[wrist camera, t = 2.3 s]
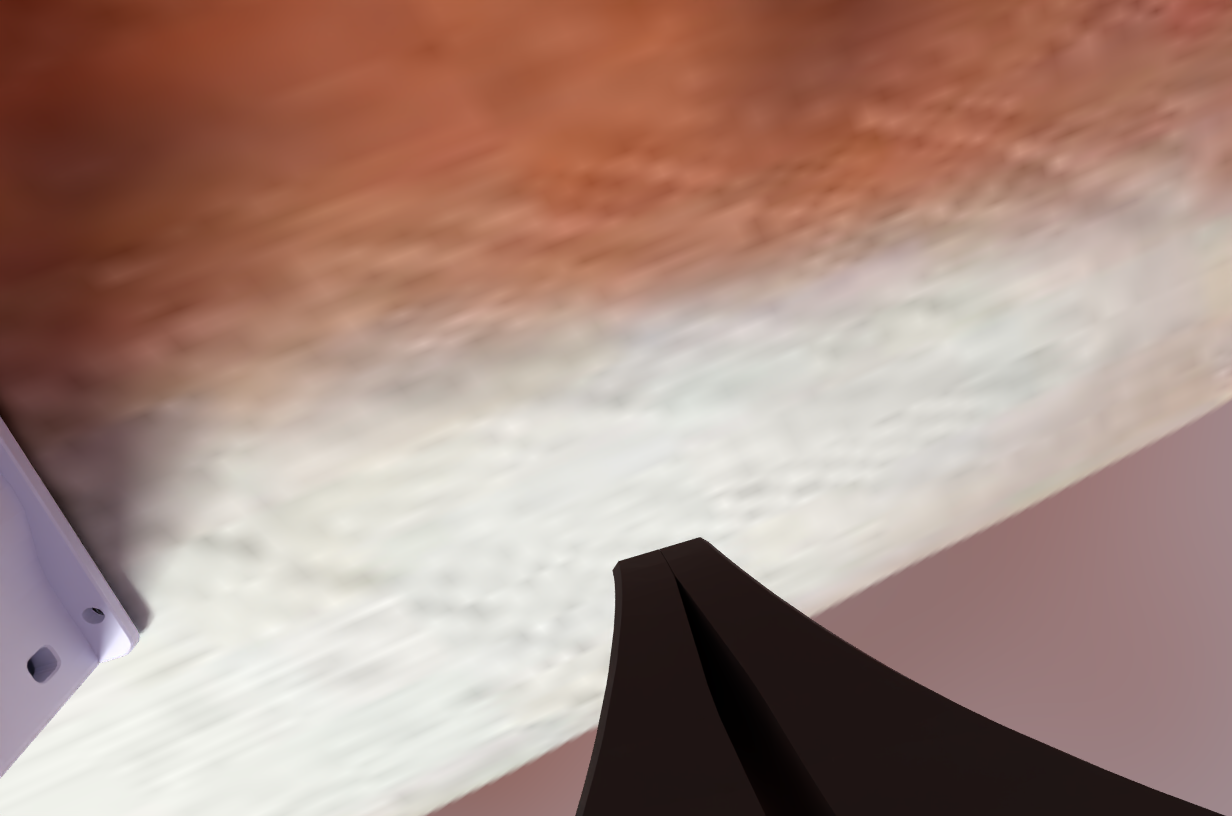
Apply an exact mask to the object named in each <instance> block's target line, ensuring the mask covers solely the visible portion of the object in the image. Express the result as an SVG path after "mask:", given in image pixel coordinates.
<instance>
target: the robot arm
mask: <svg viewBox="0 0 1232 816" xmlns="http://www.w3.org/2000/svg"><path fill="white" fill-rule="evenodd" d="M613 575H614V581H615V619H614V632H613V640H612V648H611V657H610V665H609V672H608V679H607V685H606V690H605V695H604V700H603V705H602V710H601V715H600V720H599V725H598V730H597V735H596V739H595V744H594V749H593V752H592V756H591V761H590V764H589V768H588V772H587V776H586V780H585V784H584V787H583V791H582V795H581V798H580V801H579V805H578V808H577V812H576V815H575V816H1224V815H1222V814H1219V813H1217V812H1214V811H1211V810H1208V809H1206V808H1203V807H1200V806H1198V805H1195V804H1192V803H1190V802H1187V801H1184V800H1182V799H1179V798H1176V797H1173V796H1171V795H1167V794H1165V793H1163V792H1160V791H1157V790H1154V789H1152V788H1149V787H1147V786H1145V785H1142V784H1140V783H1137V782H1135V781H1132V780H1129V779H1127V778H1124V777H1122V776H1119V775H1117V774H1114V773H1112V772H1110V771H1107V770H1104V769H1102V768H1100V767H1098V766H1095V765H1093V764H1090V763H1088V762H1086V761H1084V760H1081V759H1079V758H1077V757H1074V756H1072V755H1070V754H1067V753H1065V752H1063V751H1061V750H1058V749H1056V748H1053V747H1051V746H1049V745H1046V744H1044V743H1042V742H1040V741H1037V740H1035V739H1032V738H1030V737H1028V736H1026V735H1023V734H1021V733H1019V732H1016V731H1014V730H1012V729H1009V728H1007V727H1005V726H1002V725H1001V724H998V723H996V722H994V721H992V720H990V719H988V718H986V717H984V716H982V715H980V714H977V713H975V712H973V711H971V710H969V709H967V708H965V707H963V706H961V705H959V704H957V703H955V702H953V701H951V700H949V699H947V698H945V697H943V696H942V695H940V694H938V693H936V692H934V691H932V690H930V689H928V688H926V687H924V686H922V685H920V684H918V683H917V682H915V681H913V680H911V679H909V678H907V677H906V676H904V675H902V674H900V673H898V672H897V671H895V670H893V669H891V668H890V667H888V666H886V665H884V664H883V663H881V662H879V661H877V660H876V659H874V658H872V657H871V656H869V655H867V654H866V653H864V652H862V651H861V650H859V649H857V648H856V647H854V646H853V645H851V644H849V643H848V642H845V641H844V640H843V639H841V638H839V637H838V636H836V635H835V634H833V633H832V632H830V631H828V630H827V629H825V628H824V627H822V626H821V625H819V624H818V623H816V622H814V621H813V620H812V619H810V618H809V617H807V616H806V615H804V614H803V613H802V612H800V611H799V610H797V609H796V608H794V607H793V606H791V605H790V604H788V603H787V602H786V601H784V600H783V599H781V598H780V597H778V596H777V595H776V594H774V593H773V592H771V591H770V590H769V589H767V588H766V587H765V586H763V585H762V584H761V583H759V582H758V581H757V580H755V579H754V578H753V577H751V576H750V575H749V574H747V573H746V572H745V571H743V570H742V569H741V568H740V567H738V566H737V565H736V564H735V563H733V562H732V561H731V560H730V559H728V558H727V557H726V556H725V555H723V554H722V553H721V552H720V551H719V550H717V549H716V548H715V547H714V546H713V545H712V544H710V543H709V542H708V541H706V540H704V539H702V538H701V537H699V538H696V539H692V540H689V541H685V542H682V543H679V544H675V545H672V546H669V547H665V548H662V549H660V550H659V549H658V550H655V551H652V552H648V553H645V554H642V555H638V556H635V557H632V558H628V559H625V560H621V561H618V563H617V564H616V566H615V567H614V569H613ZM92 608H97V609H100V610H101V611H102V612H103V613H104V614H103V615H102V614H98V613H96V612H95V611H94V610H92ZM139 638H140V635H139V632H138V630H137V628H136V627H135V625H134V624H133V622H132V620H131V619H130V617H129V616H128V614H127V613H126V611H125V610H124V608H123V606H122V605H121V603H120V602H119V600H118V599H117V597H116V596H115V594H114V592H113V591H112V589H111V588H110V586H109V585H108V583H107V582H106V580H105V578H104V577H103V575H102V574H101V572H100V571H99V569H98V568H97V566H96V564H95V563H94V561H93V560H92V558H91V557H90V555H89V554H88V552H87V550H86V549H85V547H84V546H83V544H82V543H81V541H80V540H79V538H78V536H77V535H76V533H75V532H74V530H73V529H72V527H71V526H70V524H69V522H68V521H67V519H66V518H65V516H64V515H63V513H62V512H61V510H60V508H59V507H58V505H57V504H56V502H55V501H54V499H53V498H52V496H51V494H50V493H49V491H48V490H47V488H46V487H45V485H44V484H43V482H42V480H41V479H40V477H39V476H38V474H37V473H36V471H35V470H34V468H33V466H32V465H31V463H30V462H29V460H28V459H27V457H26V456H25V454H24V452H23V451H22V449H21V448H20V446H19V445H18V443H17V442H16V440H15V438H14V437H13V435H12V434H11V432H10V431H9V429H8V428H7V426H6V424H5V423H4V421H3V420H2V418H1V417H0V778H1V777H2V776H3V775H4V774H5V773H6V771H7V770H8V769H9V768H10V767H11V766H12V764H13V763H14V762H15V761H16V760H17V759H18V757H19V756H20V755H21V754H22V753H23V752H24V750H25V749H26V748H27V747H28V746H29V745H30V743H31V742H32V741H33V740H34V739H35V738H36V737H37V735H38V734H39V733H40V732H41V731H42V730H43V728H44V727H45V726H46V725H47V724H48V723H49V721H50V720H51V719H52V718H53V717H54V716H55V714H56V713H57V712H58V711H59V710H60V709H61V708H62V706H63V705H64V704H65V703H66V702H67V701H68V699H69V698H70V697H71V696H72V695H73V694H74V692H75V691H76V690H77V689H78V688H79V687H80V685H81V684H82V683H83V682H84V681H85V680H86V679H87V677H88V676H89V675H90V674H91V673H92V672H93V670H94V669H95V668H96V667H97V666H98V665H99V663H102V662H106V661H109V660H112V659H116V658H119V657H123V656H125V655H127V654H129V653H130V652H131V650H132V649H133V648H134V647H135V646H136V644H137V643H138V642H139Z"/></svg>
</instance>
